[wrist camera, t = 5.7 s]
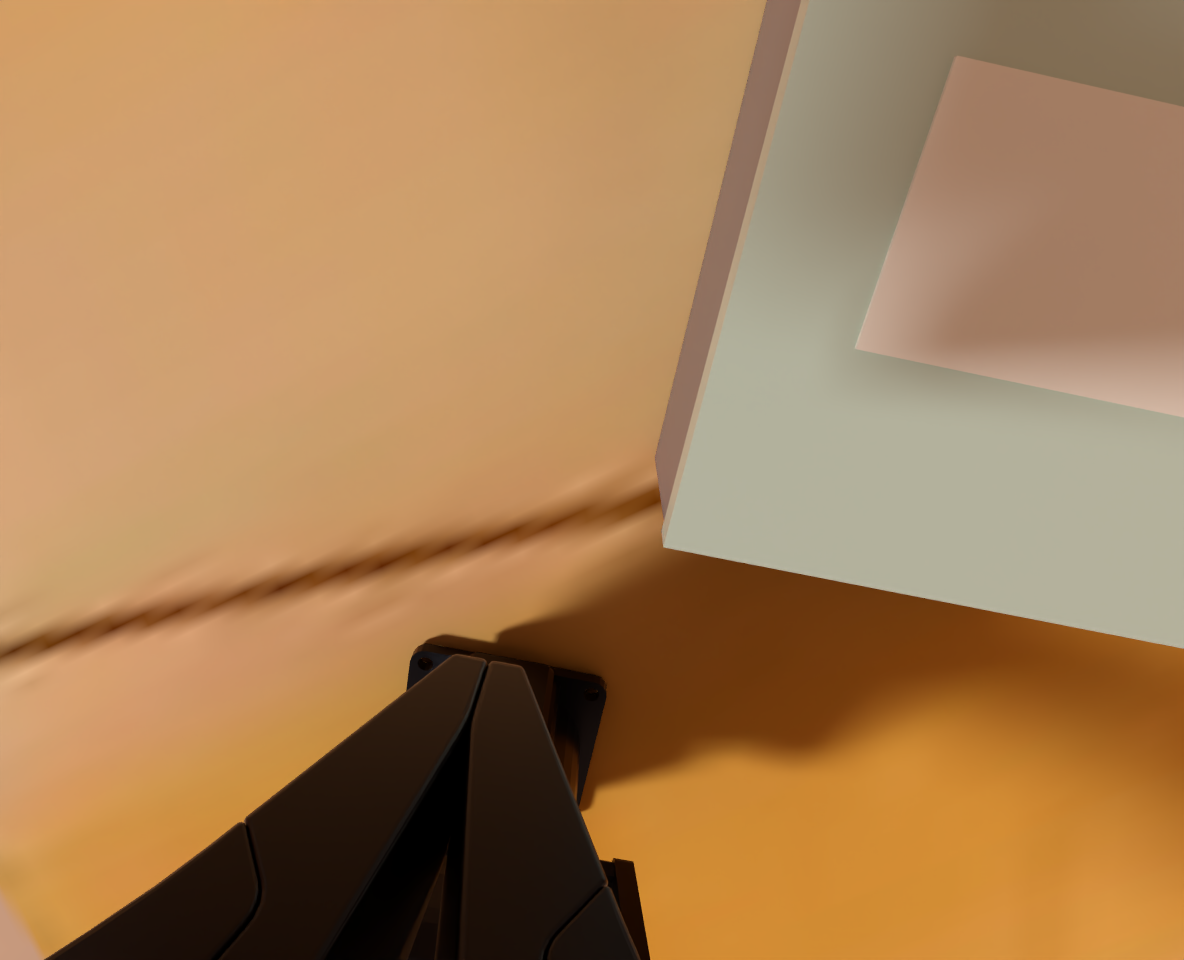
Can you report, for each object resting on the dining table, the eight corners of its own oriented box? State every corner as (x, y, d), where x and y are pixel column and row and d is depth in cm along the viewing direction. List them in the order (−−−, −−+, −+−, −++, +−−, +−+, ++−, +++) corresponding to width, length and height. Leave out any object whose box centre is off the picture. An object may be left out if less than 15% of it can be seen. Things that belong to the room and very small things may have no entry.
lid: (1167, 629, 17) (1195, 652, 16) (661, 530, 16) (663, 549, 16) (1523, 41, 12) (1588, 30, 11) (833, -122, 12) (848, -144, 11)
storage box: (1043, 535, 22) (1160, 626, 17) (654, 457, 21) (665, 529, 17) (1252, 95, 17) (1485, 56, 13) (770, -14, 17) (828, -97, 12)
